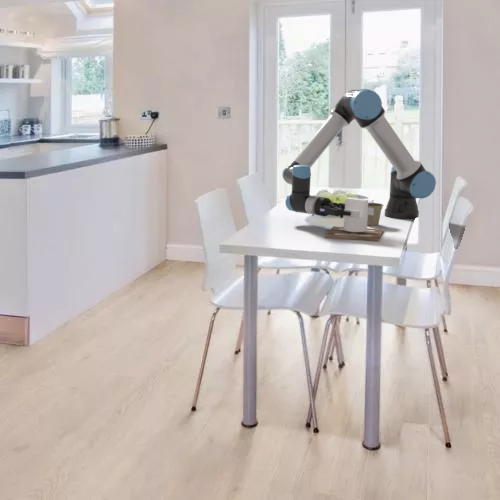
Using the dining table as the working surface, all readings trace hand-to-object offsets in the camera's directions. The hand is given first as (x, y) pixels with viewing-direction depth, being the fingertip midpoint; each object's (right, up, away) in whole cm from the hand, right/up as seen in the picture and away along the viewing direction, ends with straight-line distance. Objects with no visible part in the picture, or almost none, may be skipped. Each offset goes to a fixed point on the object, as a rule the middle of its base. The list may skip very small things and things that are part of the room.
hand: (366, 213), depth 240 cm
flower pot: (+7, -4, +25) cm, 26 cm away
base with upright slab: (-3, -6, +5) cm, 9 cm away
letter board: (-3, -8, +5) cm, 10 cm away
